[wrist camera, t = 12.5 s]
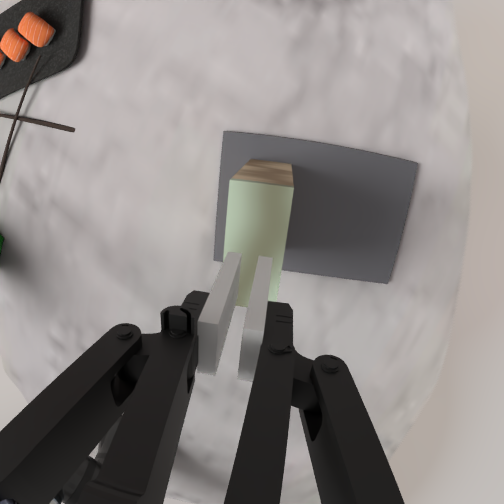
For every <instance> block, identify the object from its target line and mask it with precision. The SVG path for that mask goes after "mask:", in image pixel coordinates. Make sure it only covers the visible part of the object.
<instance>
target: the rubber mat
mask: <svg viewBox="0 0 504 504" xmlns="http://www.w3.org/2000/svg"><path fill="white" fill-rule="evenodd" d="M250 159H256V160H264V161H272V162H280V163H288V164H291V166H292V175H293V184H294V191H293V198H292V205H291V212H290V218H289V225H288V232H287V238H286V245H285V251H284V258H283V264H282V270H285V271H292V272H299V273H307V274H314V275H322V276H329V277H337V278H344V279H352V280H360V281H368V282H375V283H383V284H388V282H389V278H390V275H391V272H392V269H393V265H394V262H395V258H396V255H397V251H398V248H399V244H400V240H401V236H402V233H403V229H404V225H405V221H406V216H407V212H408V208H409V204H410V199H411V195H412V190H413V185H414V180H415V175H416V170H417V164H418V163H415V162H411V161H407V160H403V159H399V158H395V157H390V156H386V155H381V154H377V153H372V152H367V151H362V150H357V149H352V148H347V147H342V146H336V145H330V144H325V143H318V142H312V141H306V140H299V139H292V138H285V137H277V136H269V135H260V134H251V133H241V132H229V131H223V142H222V153H221V165H220V177H219V189H218V202H217V216H216V230H215V245H214V261H221V262H223V255H224V242H225V229H226V217H227V205H228V193H229V182H230V179H231V178H232V177H233V176H234V175H235V174H236V173H237V172H238V171H239V170H240V169H241V168H242V167H243V166H244V165H245V164H246V163H247V162H248V161H249V160H250Z"/></svg>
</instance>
